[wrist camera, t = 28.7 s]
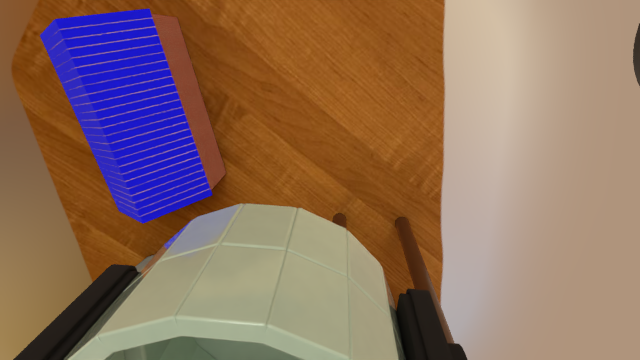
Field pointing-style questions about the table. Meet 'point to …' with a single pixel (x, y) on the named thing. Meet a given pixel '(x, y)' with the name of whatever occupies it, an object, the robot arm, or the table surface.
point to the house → (138, 108)
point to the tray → (412, 265)
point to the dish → (252, 295)
